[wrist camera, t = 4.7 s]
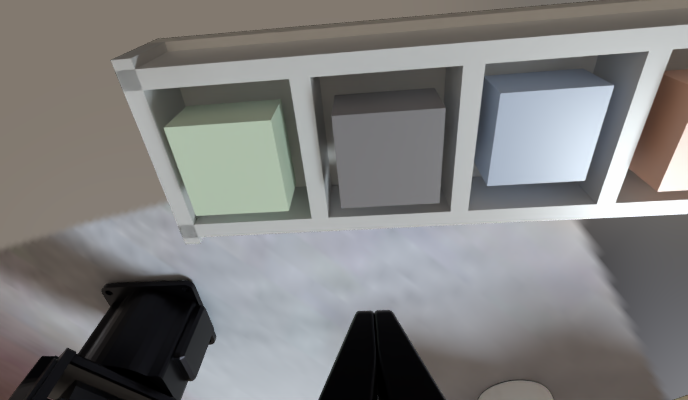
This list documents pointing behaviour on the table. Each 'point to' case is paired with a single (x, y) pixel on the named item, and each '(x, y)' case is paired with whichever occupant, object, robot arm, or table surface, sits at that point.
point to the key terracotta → (665, 137)
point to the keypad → (406, 74)
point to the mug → (517, 391)
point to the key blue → (539, 126)
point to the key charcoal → (389, 147)
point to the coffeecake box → (682, 398)
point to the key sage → (234, 157)
